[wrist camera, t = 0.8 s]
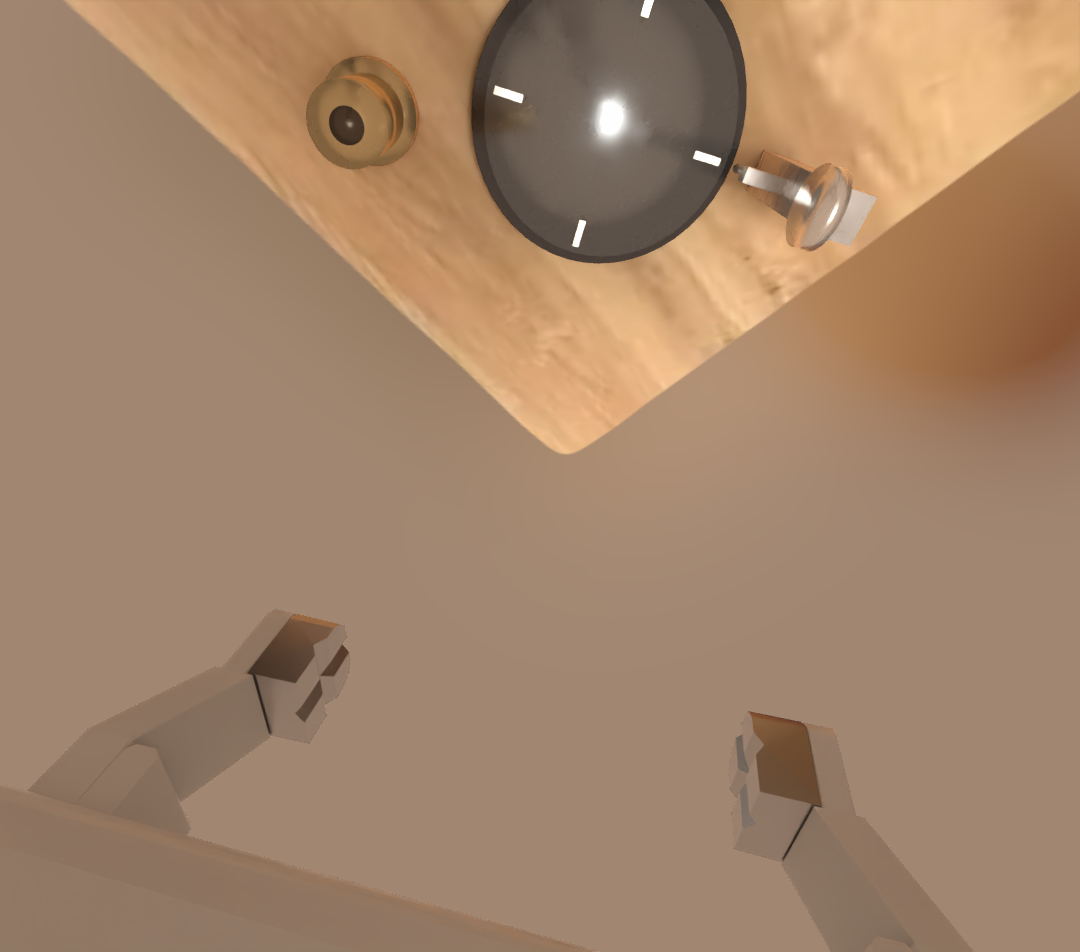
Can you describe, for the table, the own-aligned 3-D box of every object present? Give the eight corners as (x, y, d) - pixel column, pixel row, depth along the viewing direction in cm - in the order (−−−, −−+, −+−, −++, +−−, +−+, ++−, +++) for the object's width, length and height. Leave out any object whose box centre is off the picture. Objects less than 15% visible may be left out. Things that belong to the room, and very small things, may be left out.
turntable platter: (519, -81, 37) (519, -85, 36) (778, 17, 40) (786, 16, 39) (463, 216, 47) (461, 221, 46) (673, 276, 50) (677, 282, 49)
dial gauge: (734, 125, 45) (817, 160, 33) (804, 148, 47) (911, 191, 34) (707, 191, 48) (774, 247, 35) (774, 212, 49) (862, 274, 36)
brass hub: (328, 42, 42) (292, 44, 35) (425, 73, 43) (407, 81, 37) (322, 148, 46) (289, 167, 39) (411, 174, 47) (393, 196, 41)
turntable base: (508, -104, 38) (507, -108, 36) (790, 5, 41) (799, 4, 40) (450, 220, 49) (448, 225, 48) (675, 283, 53) (679, 290, 51)
